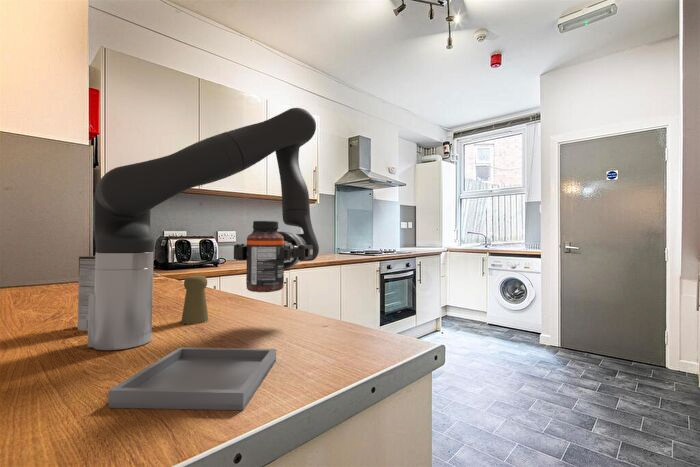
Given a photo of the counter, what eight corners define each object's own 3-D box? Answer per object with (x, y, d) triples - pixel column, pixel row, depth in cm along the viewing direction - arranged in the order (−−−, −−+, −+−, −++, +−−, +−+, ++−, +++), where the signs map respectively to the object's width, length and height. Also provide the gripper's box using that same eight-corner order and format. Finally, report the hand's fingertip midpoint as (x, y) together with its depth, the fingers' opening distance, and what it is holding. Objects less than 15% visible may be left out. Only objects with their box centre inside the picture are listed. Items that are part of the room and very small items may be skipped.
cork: (201, 324, 79) (202, 277, 79) (176, 324, 79) (177, 276, 79) (212, 318, 85) (213, 274, 85) (188, 318, 85) (189, 274, 85)
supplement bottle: (250, 287, 58) (251, 221, 58) (285, 287, 58) (286, 222, 58) (242, 293, 52) (243, 219, 52) (281, 293, 52) (282, 220, 52)
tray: (108, 407, 40) (108, 390, 40) (179, 359, 56) (179, 347, 56) (243, 410, 39) (243, 393, 39) (275, 361, 55) (276, 348, 55)
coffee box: (113, 320, 81) (115, 254, 82) (136, 322, 80) (138, 254, 80) (76, 330, 72) (78, 255, 73) (100, 332, 71) (102, 256, 71)
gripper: (249, 231, 70) (215, 229, 53) (319, 232, 69) (307, 230, 53) (249, 267, 69) (215, 277, 53) (318, 268, 69) (306, 278, 52)
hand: (261, 253), depth 53 cm, fingers closed on supplement bottle, 6 cm apart
